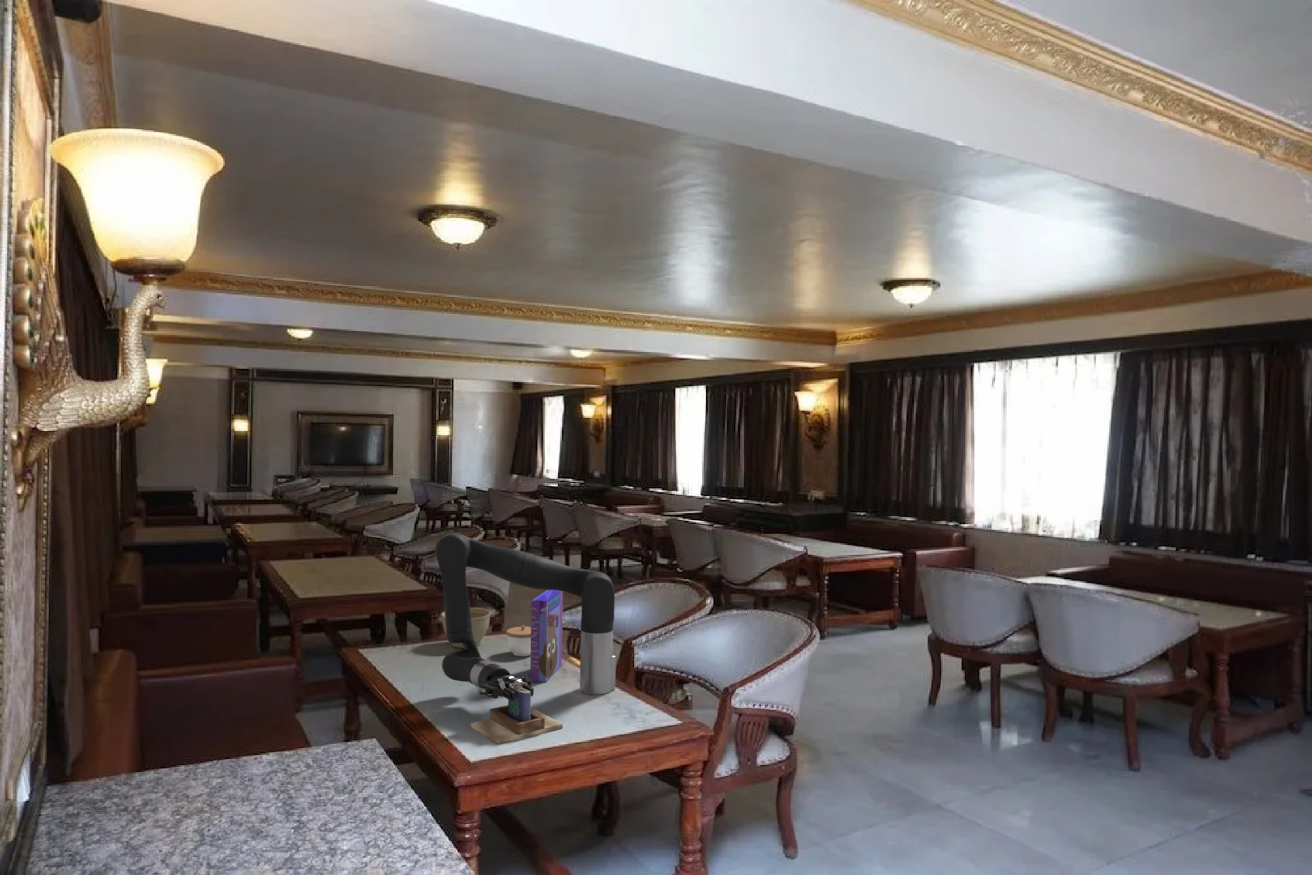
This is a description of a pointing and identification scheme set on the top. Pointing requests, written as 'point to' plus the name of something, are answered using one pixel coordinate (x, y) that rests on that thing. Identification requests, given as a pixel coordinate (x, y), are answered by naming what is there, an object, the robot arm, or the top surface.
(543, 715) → the slot board
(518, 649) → the lidded jar
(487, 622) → the planter bowl
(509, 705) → the flask
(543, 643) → the cereal box
